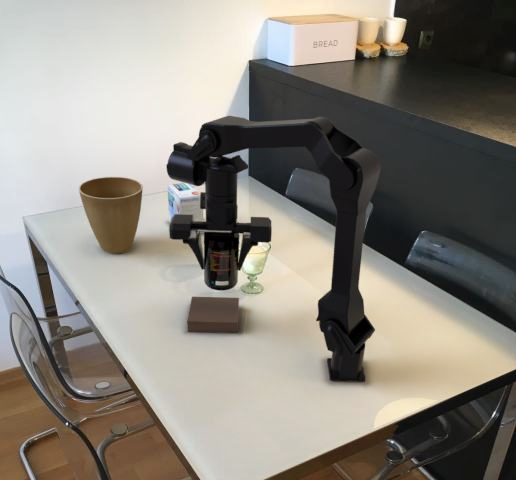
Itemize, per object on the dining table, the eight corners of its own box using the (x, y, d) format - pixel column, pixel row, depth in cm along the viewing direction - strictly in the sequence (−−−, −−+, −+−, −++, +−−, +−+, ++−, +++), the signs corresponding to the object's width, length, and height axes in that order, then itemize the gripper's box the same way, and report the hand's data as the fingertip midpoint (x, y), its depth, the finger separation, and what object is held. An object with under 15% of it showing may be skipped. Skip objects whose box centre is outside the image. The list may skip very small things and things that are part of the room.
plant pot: (89, 263, 144) (80, 200, 135) (86, 238, 155) (77, 178, 146) (151, 257, 147) (146, 195, 138) (143, 233, 159) (138, 174, 150)
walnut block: (237, 333, 120) (237, 322, 119) (187, 331, 120) (187, 321, 119) (238, 307, 129) (238, 297, 127) (192, 306, 129) (191, 296, 127)
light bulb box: (168, 222, 166) (166, 184, 160) (191, 218, 168) (190, 181, 162) (181, 237, 158) (179, 197, 152) (204, 233, 160) (204, 194, 154)
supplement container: (234, 274, 121) (235, 226, 115) (241, 290, 116) (242, 241, 110) (201, 276, 120) (201, 228, 114) (206, 293, 114) (206, 243, 109)
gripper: (272, 178, 114) (268, 252, 123) (174, 174, 114) (177, 249, 123) (273, 199, 105) (269, 278, 114) (167, 195, 105) (171, 275, 113)
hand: (221, 269), depth 116 cm, fingers closed on supplement container, 7 cm apart
